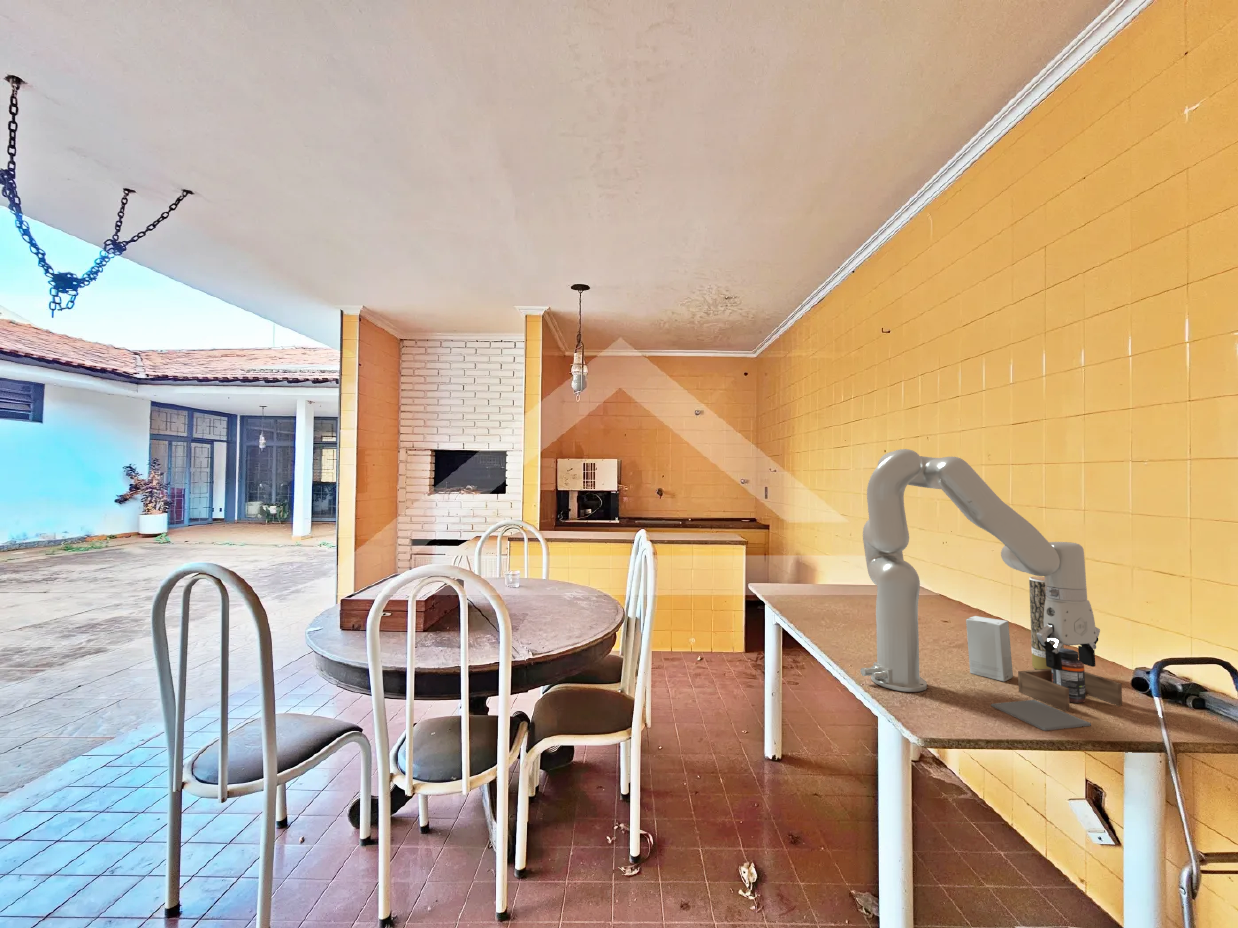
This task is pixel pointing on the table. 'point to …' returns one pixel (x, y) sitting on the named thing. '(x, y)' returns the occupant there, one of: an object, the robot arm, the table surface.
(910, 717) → the table surface
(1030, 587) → the paper tube
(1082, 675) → the supplement bottle
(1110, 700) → the wooden open-sided frame
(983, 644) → the skincare box
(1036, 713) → the grey mat
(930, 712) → the table surface
